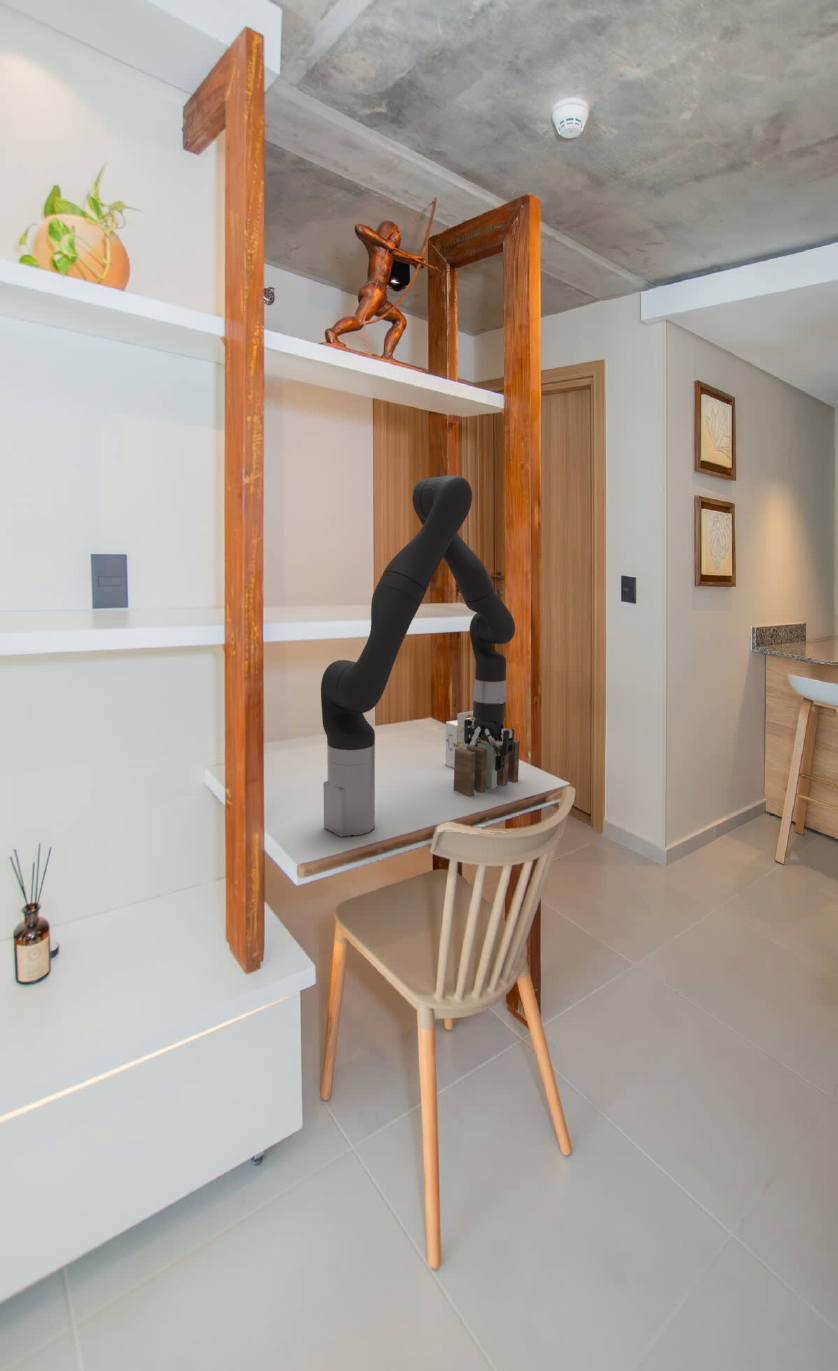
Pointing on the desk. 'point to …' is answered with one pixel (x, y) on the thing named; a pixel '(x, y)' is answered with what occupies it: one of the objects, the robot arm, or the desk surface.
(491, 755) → the gap domino
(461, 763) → the domino
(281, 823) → the desk surface
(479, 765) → the domino
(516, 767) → the domino
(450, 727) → the ink cartridge box
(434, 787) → the desk surface
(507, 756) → the domino
